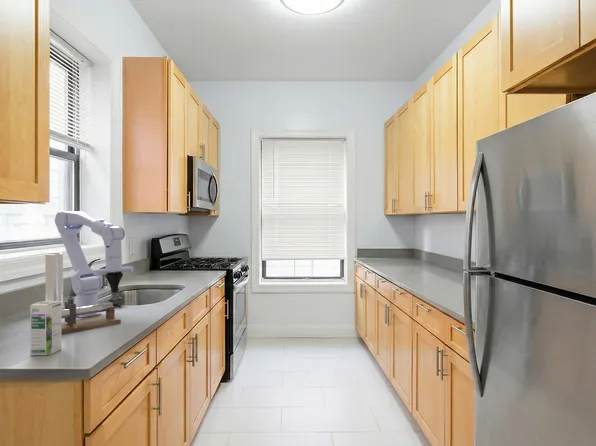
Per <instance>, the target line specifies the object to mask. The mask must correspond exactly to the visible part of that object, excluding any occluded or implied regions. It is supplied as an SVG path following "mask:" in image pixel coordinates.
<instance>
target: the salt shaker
mask: <svg viewBox="0 0 596 446" xmlns="http://www.w3.org/2000/svg"><path fill="white" fill-rule="evenodd" d="M119 292H120V289H119V288H118V289H117V292H111V294H110V296H109V298H107V300H108V303H110V302H112V303H113V306H114V307H115V308H120V307H122V305H121V304H120V303H121V302H122V299H123V297H121V295H120V294H119Z"/></svg>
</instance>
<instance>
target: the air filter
mask: <svg viewBox="0 0 596 446" xmlns="http://www.w3.org/2000/svg"><path fill="white" fill-rule="evenodd" d="M44 257H45V258H44V259H45V260H44V261H45V273H44V274H45V275H44V276H45V302H55V301H61V310H64V253H63V251H47V252H46V253H45V256H44Z"/></svg>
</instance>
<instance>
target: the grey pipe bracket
mask: <svg viewBox="0 0 596 446" xmlns="http://www.w3.org/2000/svg"><path fill="white" fill-rule="evenodd" d="M63 307H64V309H69V308H70V317H68V318H64V322H67V323H68V324H70V325H73V324H76V320H77V316H76V304H75V298H72V297H69V298H67V301H63Z"/></svg>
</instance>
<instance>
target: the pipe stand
mask: <svg viewBox="0 0 596 446" xmlns="http://www.w3.org/2000/svg"><path fill="white" fill-rule="evenodd" d="M115 308H116V307H114V306H113V303H112V302H110V303H109V302H104V303H97V305H90V306H84V307H77V308H76V317H78V316H80V315H86V314H92V313H98V312H100V313H102V312H103V313H104V312H105V314H104V315H102V314H101V315H96V316H90V317H84V318H79V319H76V324H73V325H70V324H68V323H67V322H65V321H64V322H63V321H61V335H65V334H70V333H75V332H81V331H85V330H91V329H97V328H101V327H107V326H111V325H117V324H121V323H122V319H120V318H118V317H115V315H116V313H115V310H116V309H115ZM68 317H70V308H69V309H65V308H63V309H61V320H62V319H65V318H68Z"/></svg>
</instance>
